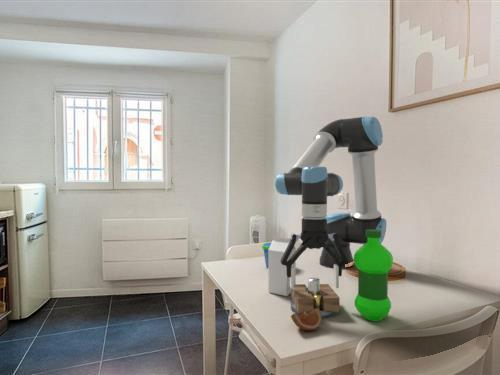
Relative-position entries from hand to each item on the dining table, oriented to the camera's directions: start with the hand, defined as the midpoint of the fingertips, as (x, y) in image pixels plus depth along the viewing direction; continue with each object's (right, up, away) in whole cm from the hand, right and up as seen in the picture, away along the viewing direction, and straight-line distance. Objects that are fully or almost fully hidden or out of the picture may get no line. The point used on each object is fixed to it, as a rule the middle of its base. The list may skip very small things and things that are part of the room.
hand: (313, 287), depth 102 cm
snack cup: (-9, -5, +46) cm, 47 cm away
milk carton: (-8, -6, +15) cm, 18 cm away
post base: (0, -7, 0) cm, 7 cm away
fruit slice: (-5, -7, -13) cm, 16 cm away
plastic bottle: (+16, -7, -6) cm, 18 cm away
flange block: (0, -5, 0) cm, 5 cm away
